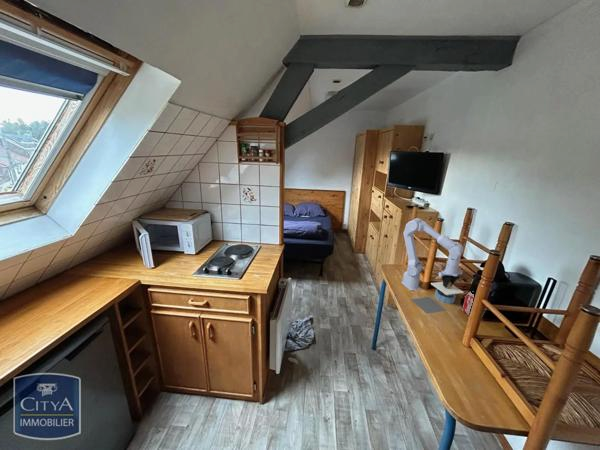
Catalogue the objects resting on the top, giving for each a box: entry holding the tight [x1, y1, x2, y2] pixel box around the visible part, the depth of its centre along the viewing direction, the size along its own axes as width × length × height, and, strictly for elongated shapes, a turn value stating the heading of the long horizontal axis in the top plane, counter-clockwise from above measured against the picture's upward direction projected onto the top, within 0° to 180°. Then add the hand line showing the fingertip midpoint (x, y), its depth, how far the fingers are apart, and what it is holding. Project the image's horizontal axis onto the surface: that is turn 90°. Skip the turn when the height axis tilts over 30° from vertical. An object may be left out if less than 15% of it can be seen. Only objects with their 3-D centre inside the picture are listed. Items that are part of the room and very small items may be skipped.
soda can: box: [462, 290, 474, 317], centre depth 129 cm, size 7×7×12 cm
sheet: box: [430, 281, 465, 295], centre depth 140 cm, size 12×12×4 cm
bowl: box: [434, 288, 456, 305], centre depth 143 cm, size 10×10×4 cm
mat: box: [410, 296, 447, 314], centre depth 137 cm, size 13×13×1 cm
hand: (447, 286), depth 141 cm, fingers closed on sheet, 3 cm apart
